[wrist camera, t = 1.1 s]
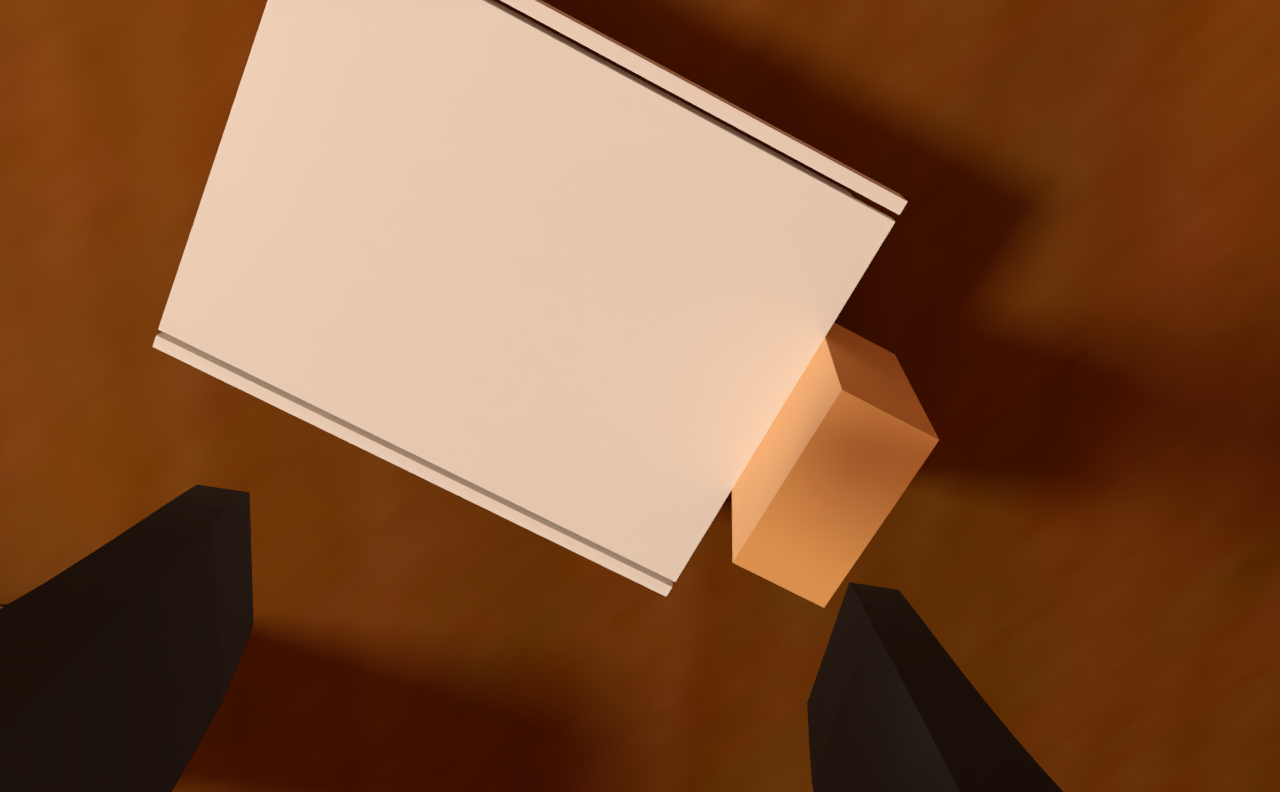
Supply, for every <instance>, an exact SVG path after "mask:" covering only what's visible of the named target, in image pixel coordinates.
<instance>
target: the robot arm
mask: <svg viewBox="0 0 1280 792" xmlns="http://www.w3.org/2000/svg"><path fill="white" fill-rule="evenodd" d="M252 627H253V594H252V562H251V528H250V495H249V492H242V491H236V490H229V489H222V488H216V487H209V486H202V485H196V486H194V487H192V488H191V489H189V490H188V491H186V492H184V493H183V494H181V495H180V496H178V497H177V498H175V499H174V500H172V501H170V502H169V503H167V504H166V505H164V506H163V507H161V508H160V509H158V510H157V511H155V512H154V513H152V514H151V515H149V516H148V517H146V518H145V519H143V520H142V521H140V522H139V523H137V524H136V525H134V526H133V527H131V528H130V529H128V530H127V531H125V532H124V533H122V534H120V535H119V536H117V537H116V538H114V539H113V540H111V541H110V542H108V543H107V544H105V545H104V546H102V547H101V548H99V549H98V550H96V551H94V552H93V553H91V554H90V555H88V556H87V557H85V558H83V559H82V560H80V561H79V562H77V563H76V564H74V565H72V566H71V567H69V568H68V569H66V570H65V571H63V572H61V573H60V574H58V575H57V576H55V577H54V578H52V579H50V580H49V581H47V582H46V583H44V584H42V585H41V586H39V587H37V588H35V589H34V590H32V591H30V592H28V593H27V594H25V595H23V596H22V597H20V598H18V599H16V600H15V601H13V602H11V603H10V604H8V605H6V606H4V607H3V608H1V609H0V792H172V790H173V789H174V787H175V785H176V783H177V782H178V780H179V778H180V776H181V775H182V773H183V771H184V769H185V767H186V766H187V764H188V762H189V760H190V759H191V757H192V755H193V753H194V751H195V750H196V748H197V746H198V744H199V743H200V741H201V739H202V737H203V735H204V734H205V732H206V730H207V728H208V726H209V725H210V723H211V721H212V719H213V717H214V716H215V714H216V712H217V710H218V708H219V706H220V705H221V703H222V701H223V698H224V696H225V694H226V691H227V689H228V686H229V684H230V682H231V679H232V677H233V675H234V672H235V670H236V667H237V665H238V662H239V660H240V657H241V655H242V652H243V650H244V647H245V645H246V642H247V640H248V637H249V635H250V632H251V629H252ZM807 706H808V726H809V747H810V760H811V774H812V785H813V791H814V792H1063V791H1062V790H1061V789H1060V788H1059V787H1058V786H1057V784H1056V783H1055V782H1054V781H1053V780H1052V779H1051V778H1050V777H1049V776H1048V774H1047V773H1046V772H1045V771H1044V770H1043V769H1042V768H1041V767H1040V766H1039V765H1038V763H1037V762H1036V761H1035V760H1034V759H1033V758H1032V757H1031V756H1030V755H1029V753H1028V752H1027V751H1026V750H1025V749H1024V747H1023V746H1022V745H1021V744H1020V743H1019V742H1018V740H1017V739H1016V738H1015V737H1014V736H1013V735H1012V733H1011V732H1010V731H1009V730H1008V729H1007V727H1006V726H1005V725H1004V724H1003V723H1002V721H1001V720H1000V719H999V718H998V717H997V715H996V714H995V713H994V712H993V710H992V709H991V708H990V707H989V706H988V704H987V703H986V702H985V701H984V699H983V698H982V697H981V696H980V694H979V693H978V692H977V691H976V689H975V688H974V687H973V685H972V684H971V683H970V682H969V680H968V679H967V678H966V677H965V675H964V674H963V673H962V671H961V670H960V669H959V668H958V666H957V665H956V664H955V662H954V661H953V660H952V658H951V657H950V656H949V655H948V653H947V652H946V651H945V649H944V648H943V647H942V645H941V644H940V643H939V642H938V640H937V639H936V638H935V636H934V635H933V634H932V632H931V631H930V630H929V628H928V627H927V626H926V624H925V623H924V622H923V620H922V619H921V618H920V617H919V615H918V614H917V613H916V611H915V610H914V609H913V607H912V606H911V605H910V604H909V602H908V601H907V600H906V599H905V597H904V596H903V595H902V594H901V592H900V591H899V590H896V589H890V588H883V587H876V586H870V585H863V584H856V583H849V585H848V588H847V591H846V594H845V597H844V600H843V602H842V605H841V608H840V611H839V614H838V617H837V620H836V622H835V625H834V628H833V631H832V634H831V637H830V640H829V643H828V645H827V648H826V651H825V654H824V657H823V660H822V663H821V666H820V668H819V671H818V674H817V677H816V680H815V683H814V686H813V689H812V691H811V694H810V697H809V700H808V703H807Z"/></svg>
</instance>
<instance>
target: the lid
mask: <svg viewBox="0 0 1280 792" xmlns="http://www.w3.org/2000/svg"><path fill="white" fill-rule="evenodd" d="M501 1H502V2H504V3H506V4H508V5H510V6H512V7H514V8H515V9H517V10H519V11H521V12H523V13H525V14H527V15H528V16H530V17H532V18H534V19H536V20H538V21H540V22H541V23H543V24H545V25H547V26H549V27H551V28H553V29H554V30H556V31H558V32H560V33H562V34H564V35H566V36H567V37H569V38H571V39H573V40H575V41H577V42H579V43H580V44H582V45H584V46H586V47H588V48H590V49H592V50H593V51H595V52H597V53H599V54H601V55H603V56H605V57H606V58H608V59H610V60H612V61H614V62H616V63H618V64H619V65H621V66H623V67H625V68H627V69H629V70H631V71H633V72H634V73H636V74H638V75H640V76H642V77H644V78H646V79H647V80H649V81H651V82H653V83H655V84H657V85H659V86H660V87H662V88H664V89H666V90H668V91H670V92H672V93H673V94H675V95H677V96H679V97H681V98H683V99H685V100H686V101H688V102H690V103H692V104H694V105H696V106H698V107H699V108H701V109H703V110H705V111H707V112H709V113H711V114H712V115H714V116H716V117H718V118H720V119H722V120H724V121H725V122H727V123H729V124H731V125H733V126H735V127H737V128H738V129H740V130H742V131H744V132H746V133H748V134H750V135H751V136H753V137H755V138H757V139H759V140H761V141H763V142H764V143H766V144H768V145H770V146H772V147H774V148H776V149H777V150H779V151H781V152H783V153H785V154H787V155H789V156H790V157H792V158H794V159H796V160H798V161H800V162H802V163H803V164H805V165H807V166H809V167H811V168H813V169H815V170H816V171H818V172H820V173H822V174H824V175H826V176H828V177H829V178H831V179H833V180H835V181H837V182H839V183H841V184H842V185H844V186H846V187H848V188H850V189H852V190H854V191H855V192H857V193H859V194H861V195H863V196H865V197H867V198H868V199H870V200H872V201H874V202H876V203H878V204H880V205H881V206H883V207H885V208H887V209H889V210H891V211H893V212H894V213H896V214H898V215H900V214H901V212H902V210H903V209H904V207H905V205H906V204H907V202H908V201H907V200H905V199H904V198H903V197H902V196H901V195H900V194H899V193H897V192H895V191H893V190H891V189H890V188H888V187H886V186H884V185H882V184H880V183H879V182H877V181H875V180H873V179H871V178H869V177H867V176H866V175H864V174H862V173H860V172H858V171H856V170H854V169H853V168H851V167H849V166H847V165H845V164H843V163H842V162H840V161H838V160H836V159H834V158H832V157H830V156H829V155H827V154H825V153H823V152H821V151H819V150H817V149H816V148H814V147H812V146H810V145H808V144H806V143H805V142H803V141H801V140H799V139H797V138H795V137H793V136H792V135H790V134H788V133H786V132H784V131H782V130H780V129H779V128H777V127H775V126H773V125H771V124H769V123H768V122H766V121H764V120H762V119H760V118H758V117H756V116H755V115H753V114H751V113H749V112H747V111H745V110H743V109H742V108H740V107H738V106H736V105H734V104H732V103H731V102H729V101H727V100H725V99H723V98H721V97H719V96H718V95H716V94H714V93H712V92H710V91H708V90H706V89H705V88H703V87H701V86H699V85H697V84H695V83H694V82H692V81H690V80H688V79H686V78H684V77H682V76H681V75H679V74H677V73H675V72H673V71H671V70H669V69H668V68H666V67H664V66H662V65H660V64H658V63H657V62H655V61H653V60H651V59H649V58H647V57H645V56H644V55H642V54H640V53H638V52H636V51H634V50H632V49H631V48H629V47H627V46H625V45H623V44H621V43H620V42H618V41H616V40H614V39H612V38H610V37H608V36H607V35H605V34H603V33H601V32H599V31H597V30H595V29H594V28H592V27H590V26H588V25H586V24H584V23H583V22H581V21H579V20H577V19H575V18H573V17H571V16H570V15H568V14H566V13H564V12H562V11H560V10H558V9H557V8H555V7H553V6H551V5H549V4H547V3H546V2H544V1H542V0H501ZM894 223H895V221H894V220H893V219H892V218H891V217H890V216H888V215H886V214H884V213H882V212H880V211H878V210H877V209H875V208H873V207H871V206H869V205H867V204H865V203H864V202H862V201H860V200H858V199H856V198H854V197H852V196H851V195H849V194H847V193H845V192H843V191H841V190H839V189H838V188H836V187H834V186H832V185H830V184H828V183H826V182H825V181H823V180H821V179H819V178H817V177H815V176H813V175H812V174H810V173H808V172H806V171H804V170H802V169H800V168H798V167H797V166H795V165H793V164H791V163H789V162H787V161H785V160H784V159H782V158H780V157H778V156H776V155H774V154H772V153H771V152H769V151H767V150H765V149H763V148H761V147H759V146H758V145H756V144H754V143H752V142H750V141H748V140H746V139H745V138H743V137H741V136H739V135H737V134H735V133H733V132H732V131H730V130H728V129H726V128H724V127H722V126H720V125H719V124H717V123H715V122H713V121H711V120H709V119H707V118H705V117H704V116H702V115H700V114H698V113H696V112H694V111H692V110H691V109H689V108H687V107H685V106H683V105H681V104H679V103H678V102H676V101H674V100H672V99H670V98H668V97H666V96H665V95H663V94H661V93H659V92H657V91H655V90H653V89H652V88H650V87H648V86H646V85H644V84H642V83H640V82H639V81H637V80H635V79H633V78H631V77H629V76H627V75H626V74H624V73H622V72H620V71H618V70H616V69H614V68H612V67H611V66H609V65H607V64H605V63H603V62H601V61H599V60H598V59H596V58H594V57H592V56H590V55H588V54H586V53H585V52H583V51H581V50H579V49H577V48H575V47H573V46H572V45H570V44H568V43H566V42H564V41H562V40H560V39H559V38H557V37H555V36H553V35H551V34H549V33H547V32H546V31H544V30H542V29H540V28H538V27H536V26H534V25H532V24H531V23H529V22H527V21H525V20H523V19H521V18H519V17H518V16H516V15H514V14H512V13H510V12H508V11H506V10H505V9H503V8H501V7H499V6H497V5H495V4H493V3H492V2H490V1H488V0H268V1H267V4H266V7H265V10H264V13H263V16H262V19H261V22H260V25H259V28H258V31H257V34H256V37H255V40H254V43H253V46H252V49H251V52H250V55H249V58H248V61H247V64H246V67H245V70H244V73H243V76H242V79H241V82H240V85H239V88H238V91H237V94H236V97H235V100H234V103H233V106H232V109H231V112H230V115H229V118H228V121H227V124H226V127H225V130H224V133H223V136H222V139H221V142H220V145H219V148H218V151H217V155H216V158H215V161H214V164H213V167H212V170H211V173H210V176H209V179H208V182H207V185H206V188H205V191H204V194H203V197H202V200H201V203H200V206H199V209H198V212H197V215H196V218H195V221H194V224H193V227H192V230H191V233H190V236H189V239H188V242H187V245H186V248H185V251H184V254H183V257H182V260H181V263H180V266H179V269H178V272H177V275H176V278H175V281H174V284H173V287H172V290H171V293H170V296H169V299H168V302H167V305H166V308H165V311H164V314H163V317H162V320H161V323H160V326H159V329H158V330H160V331H162V332H161V333H160V334H158V335H156V338H155V341H154V344H153V347H154V348H156V349H158V350H160V351H162V352H164V353H167V354H169V355H171V356H173V357H175V358H177V359H179V360H181V361H183V362H185V363H187V364H189V365H191V366H193V367H195V368H197V369H199V370H201V371H203V372H206V373H208V374H210V375H212V376H214V377H216V378H218V379H220V380H222V381H224V382H226V383H228V384H230V385H232V386H234V387H236V388H238V389H240V390H243V391H245V392H247V393H249V394H251V395H253V396H255V397H257V398H259V399H261V400H263V401H265V402H267V403H269V404H271V405H273V406H275V407H277V408H280V409H282V410H284V411H286V412H288V413H290V414H292V415H294V416H296V417H298V418H300V419H302V420H304V421H306V422H308V423H310V424H312V425H314V426H316V427H319V428H321V429H323V430H325V431H327V432H329V433H331V434H333V435H335V436H337V437H339V438H341V439H343V440H345V441H347V442H349V443H351V444H353V445H356V446H358V447H360V448H362V449H364V450H366V451H368V452H370V453H372V454H374V455H376V456H378V457H380V458H382V459H384V460H386V461H388V462H390V463H392V464H395V465H397V466H399V467H401V468H403V469H405V470H407V471H409V472H411V473H413V474H415V475H417V476H419V477H421V478H423V479H425V480H427V481H429V482H432V483H434V484H436V485H438V486H440V487H442V488H444V489H446V490H448V491H450V492H452V493H454V494H456V495H458V496H460V497H462V498H464V499H466V500H469V501H471V502H473V503H475V504H477V505H479V506H481V507H483V508H485V509H487V510H489V511H491V512H493V513H495V514H497V515H499V516H501V517H503V518H505V519H508V520H510V521H512V522H514V523H516V524H518V525H520V526H522V527H524V528H526V529H528V530H530V531H532V532H534V533H536V534H538V535H540V536H542V537H545V538H547V539H549V540H551V541H553V542H555V543H557V544H559V545H561V546H563V547H565V548H567V549H569V550H571V551H573V552H575V553H577V554H579V555H582V556H584V557H586V558H588V559H590V560H592V561H594V562H596V563H598V564H600V565H602V566H604V567H606V568H608V569H610V570H612V571H614V572H616V573H618V574H621V575H623V576H625V577H627V578H629V579H631V580H633V581H635V582H637V583H639V584H641V585H643V586H645V587H647V588H649V589H651V590H653V591H655V592H658V593H660V594H662V595H664V596H667V595H668V593H669V592H670V590H671V588H672V585H673V581H674V582H676V580H677V578H678V577H679V575H680V574H681V572H682V570H683V569H684V567H685V565H686V564H687V562H688V560H689V559H690V557H691V556H692V554H693V552H694V551H695V549H696V547H697V546H698V544H699V542H700V541H701V539H702V538H703V536H704V534H705V533H706V531H707V529H708V528H709V526H710V524H711V523H712V521H713V520H714V518H715V516H716V515H717V513H718V511H719V510H720V508H721V506H722V505H723V503H724V502H725V500H726V498H727V497H728V495H729V493H730V492H731V490H732V551H733V563H734V564H736V565H738V566H741V567H743V568H745V569H747V570H749V571H751V572H753V573H755V574H757V575H759V576H761V577H763V578H765V579H767V580H769V581H771V582H773V583H775V584H777V585H779V586H781V587H783V588H785V589H787V590H789V591H791V592H793V593H795V594H797V595H799V596H801V597H803V598H805V599H807V600H809V601H811V602H813V603H815V604H817V605H820V606H822V607H825V606H826V604H827V603H828V601H829V600H830V598H831V597H832V595H833V594H834V592H835V591H836V590H837V588H838V587H839V585H840V584H841V582H842V581H843V579H844V578H845V576H846V575H847V574H848V572H849V571H850V569H851V568H852V566H853V565H854V563H855V562H856V560H857V559H858V558H859V556H860V555H861V553H862V552H863V550H864V549H865V547H866V546H867V544H868V543H869V542H870V540H871V539H872V537H873V536H874V534H875V533H876V531H877V530H878V528H879V527H880V526H881V524H882V523H883V521H884V520H885V518H886V517H887V515H888V514H889V513H890V511H891V510H892V508H893V507H894V505H895V504H896V502H897V501H898V499H899V498H900V497H901V495H902V494H903V492H904V491H905V489H906V488H907V486H908V485H909V483H910V482H911V481H912V479H913V478H914V476H915V475H916V473H917V472H918V470H919V469H920V467H921V466H922V465H923V463H924V462H925V460H926V459H927V457H928V456H929V454H930V453H931V451H932V450H933V449H934V447H935V446H936V444H937V443H938V441H939V438H938V437H937V435H936V433H935V431H934V429H933V427H932V425H931V423H930V421H929V419H928V417H927V415H926V413H925V412H924V410H923V408H922V406H921V404H920V402H919V400H918V398H917V396H916V394H915V392H914V390H913V388H912V387H911V385H910V383H909V381H908V379H907V377H906V375H905V373H904V371H903V369H902V367H901V365H900V363H899V362H898V360H897V358H896V356H895V354H893V353H891V352H890V351H888V350H886V349H884V348H882V347H880V346H878V345H876V344H874V343H872V342H870V341H869V340H867V339H865V338H863V337H861V336H859V335H857V334H855V333H853V332H851V331H849V330H848V329H846V328H844V327H842V326H840V325H838V324H836V323H834V322H835V320H836V318H837V317H838V315H839V313H840V312H841V310H842V308H843V307H844V305H845V304H846V302H847V300H848V299H849V297H850V295H851V294H852V292H853V290H854V289H855V287H856V286H857V284H858V282H859V281H860V279H861V277H862V276H863V274H864V272H865V271H866V269H867V268H868V266H869V264H870V263H871V261H872V259H873V258H874V256H875V254H876V253H877V251H878V250H879V248H880V246H881V245H882V243H883V241H884V240H885V238H886V236H887V235H888V233H889V232H890V230H891V228H892V227H893V225H894Z"/></svg>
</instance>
